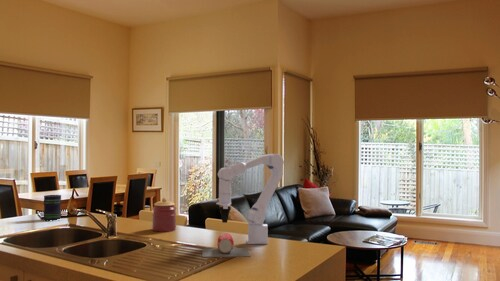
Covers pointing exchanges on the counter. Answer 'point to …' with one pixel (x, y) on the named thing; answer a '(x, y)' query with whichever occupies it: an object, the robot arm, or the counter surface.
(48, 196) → the storage jar
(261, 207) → the robot arm
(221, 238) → the soda can
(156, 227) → the canister
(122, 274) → the counter surface
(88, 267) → the counter surface
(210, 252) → the mat
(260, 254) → the counter surface
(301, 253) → the counter surface
